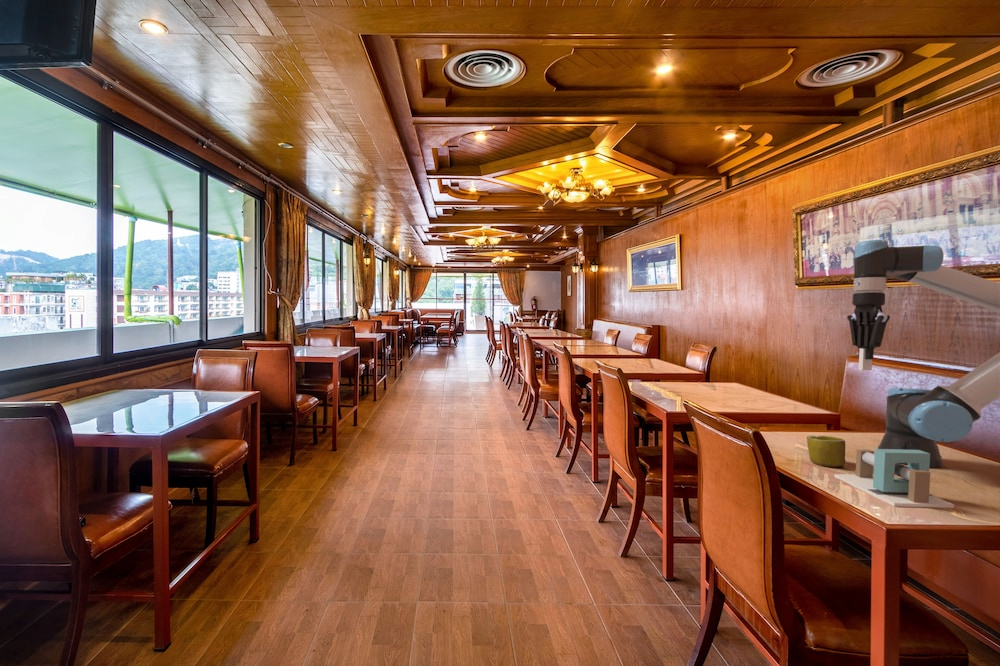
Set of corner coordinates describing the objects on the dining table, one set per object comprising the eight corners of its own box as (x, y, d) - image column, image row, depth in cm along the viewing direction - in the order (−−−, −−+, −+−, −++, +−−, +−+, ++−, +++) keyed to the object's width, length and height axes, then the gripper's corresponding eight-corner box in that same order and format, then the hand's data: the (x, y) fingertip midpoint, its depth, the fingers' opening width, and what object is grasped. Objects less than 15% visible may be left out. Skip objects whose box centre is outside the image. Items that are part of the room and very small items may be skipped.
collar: (872, 487, 111) (874, 448, 110) (916, 488, 110) (918, 449, 110) (883, 492, 108) (885, 452, 107) (927, 493, 107) (930, 453, 107)
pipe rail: (834, 476, 122) (835, 448, 122) (884, 478, 122) (886, 449, 121) (894, 506, 103) (896, 472, 103) (954, 507, 103) (956, 474, 102)
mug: (861, 465, 126) (846, 431, 128) (823, 473, 128) (809, 439, 130) (840, 460, 138) (827, 429, 140) (805, 467, 140) (793, 437, 142)
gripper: (839, 293, 137) (836, 367, 138) (874, 291, 124) (870, 372, 125) (863, 293, 137) (860, 367, 138) (900, 291, 124) (896, 372, 125)
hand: (864, 369), depth 131 cm, fingers closed
